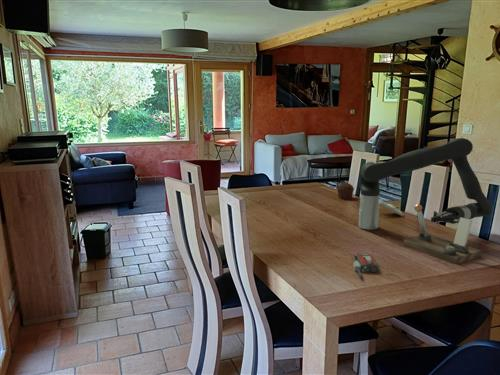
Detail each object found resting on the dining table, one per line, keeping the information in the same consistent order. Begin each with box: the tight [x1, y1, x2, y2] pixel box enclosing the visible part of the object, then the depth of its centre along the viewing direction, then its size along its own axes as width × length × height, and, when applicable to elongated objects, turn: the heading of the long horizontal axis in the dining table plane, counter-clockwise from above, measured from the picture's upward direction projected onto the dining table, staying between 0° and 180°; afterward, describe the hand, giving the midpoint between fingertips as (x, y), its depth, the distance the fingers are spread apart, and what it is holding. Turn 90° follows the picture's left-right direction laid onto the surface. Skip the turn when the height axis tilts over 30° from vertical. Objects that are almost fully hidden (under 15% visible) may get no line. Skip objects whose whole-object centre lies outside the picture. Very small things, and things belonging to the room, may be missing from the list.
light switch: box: [379, 199, 404, 217], centre depth 225 cm, size 8×6×14 cm
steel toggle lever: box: [413, 203, 429, 237], centre depth 171 cm, size 3×3×17 cm
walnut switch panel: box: [403, 232, 482, 265], centre depth 167 cm, size 16×25×5 cm, turn 28°
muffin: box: [336, 182, 355, 200], centre depth 266 cm, size 12×11×10 cm
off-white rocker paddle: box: [453, 217, 473, 249], centre depth 160 cm, size 1×4×12 cm, turn 28°
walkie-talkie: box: [353, 253, 379, 279], centre depth 149 cm, size 9×4×20 cm
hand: (432, 219), depth 174 cm, fingers closed
